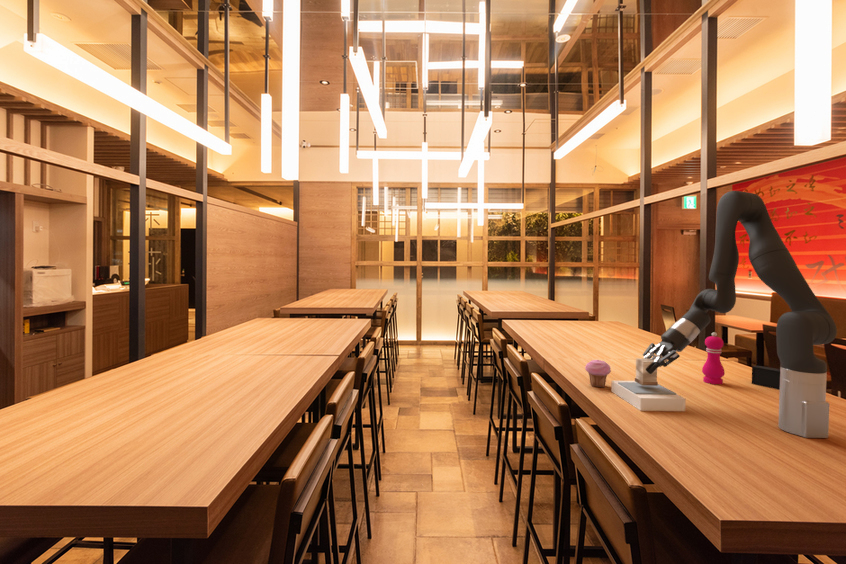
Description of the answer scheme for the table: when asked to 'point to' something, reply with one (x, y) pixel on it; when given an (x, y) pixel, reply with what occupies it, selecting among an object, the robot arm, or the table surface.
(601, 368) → the cupcake
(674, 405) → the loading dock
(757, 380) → the digital camera
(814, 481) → the table surface
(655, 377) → the memo note cube
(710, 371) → the pepper mill
